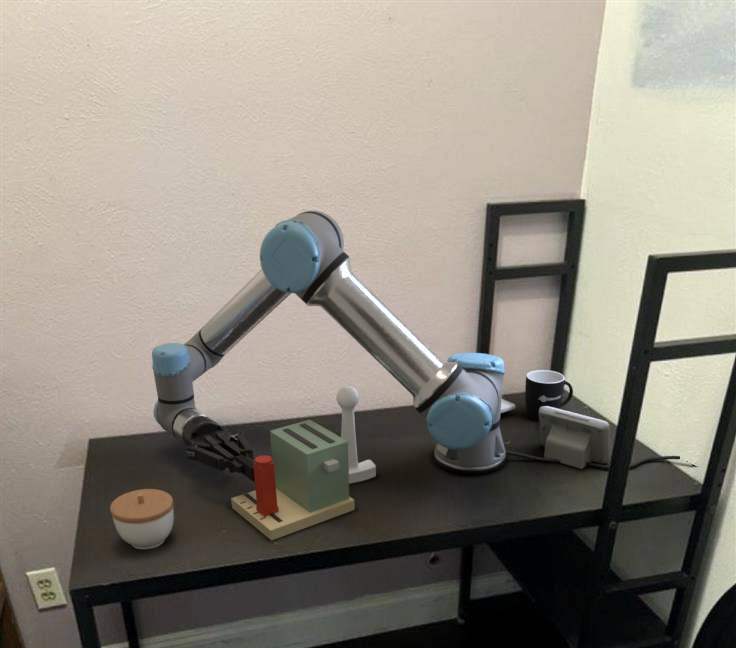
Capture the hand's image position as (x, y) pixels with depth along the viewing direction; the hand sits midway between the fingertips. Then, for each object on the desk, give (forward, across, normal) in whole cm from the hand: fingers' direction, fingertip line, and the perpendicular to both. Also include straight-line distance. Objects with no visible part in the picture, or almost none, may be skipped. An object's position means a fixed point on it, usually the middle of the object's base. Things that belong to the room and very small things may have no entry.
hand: (256, 474), depth 144 cm
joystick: (-3, -23, -9) cm, 25 cm away
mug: (+1, -79, -9) cm, 80 cm away
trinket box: (-4, +21, -9) cm, 23 cm away
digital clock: (+20, -66, -9) cm, 69 cm away
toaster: (+2, -6, -9) cm, 11 cm away
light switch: (-9, -69, -9) cm, 70 cm away
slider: (+3, 0, -6) cm, 7 cm away
